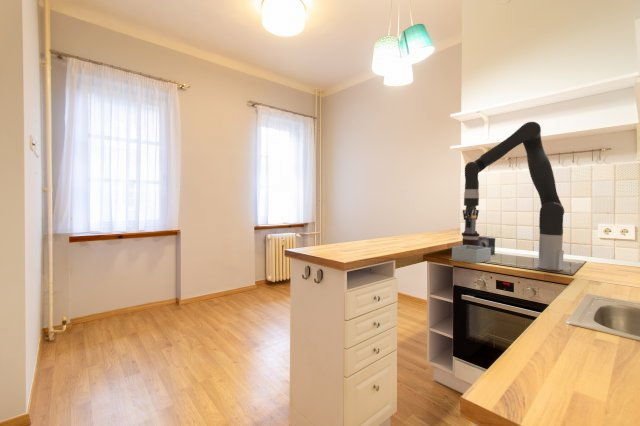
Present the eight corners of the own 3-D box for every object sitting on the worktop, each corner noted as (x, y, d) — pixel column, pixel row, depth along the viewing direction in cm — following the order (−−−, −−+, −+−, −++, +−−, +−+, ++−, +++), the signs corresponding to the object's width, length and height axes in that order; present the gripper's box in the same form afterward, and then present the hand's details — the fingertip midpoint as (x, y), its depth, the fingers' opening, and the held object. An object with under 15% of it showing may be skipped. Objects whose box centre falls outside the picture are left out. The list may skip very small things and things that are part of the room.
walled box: (490, 260, 171) (490, 247, 170) (476, 263, 161) (476, 250, 161) (466, 256, 182) (466, 244, 182) (451, 259, 173) (452, 247, 172)
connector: (475, 233, 171) (476, 215, 171) (471, 233, 169) (472, 215, 168) (468, 232, 175) (468, 215, 174) (464, 232, 172) (464, 215, 172)
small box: (473, 252, 196) (473, 236, 196) (480, 251, 199) (480, 236, 199) (488, 255, 187) (488, 238, 186) (495, 254, 190) (495, 238, 189)
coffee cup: (458, 254, 189) (458, 230, 189) (465, 252, 195) (466, 229, 195) (474, 256, 181) (474, 231, 181) (481, 254, 187) (482, 231, 187)
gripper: (471, 197, 164) (470, 228, 164) (484, 197, 172) (483, 227, 173) (458, 197, 170) (457, 227, 171) (471, 197, 178) (470, 226, 179)
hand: (470, 227), depth 172 cm, fingers closed on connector, 4 cm apart
